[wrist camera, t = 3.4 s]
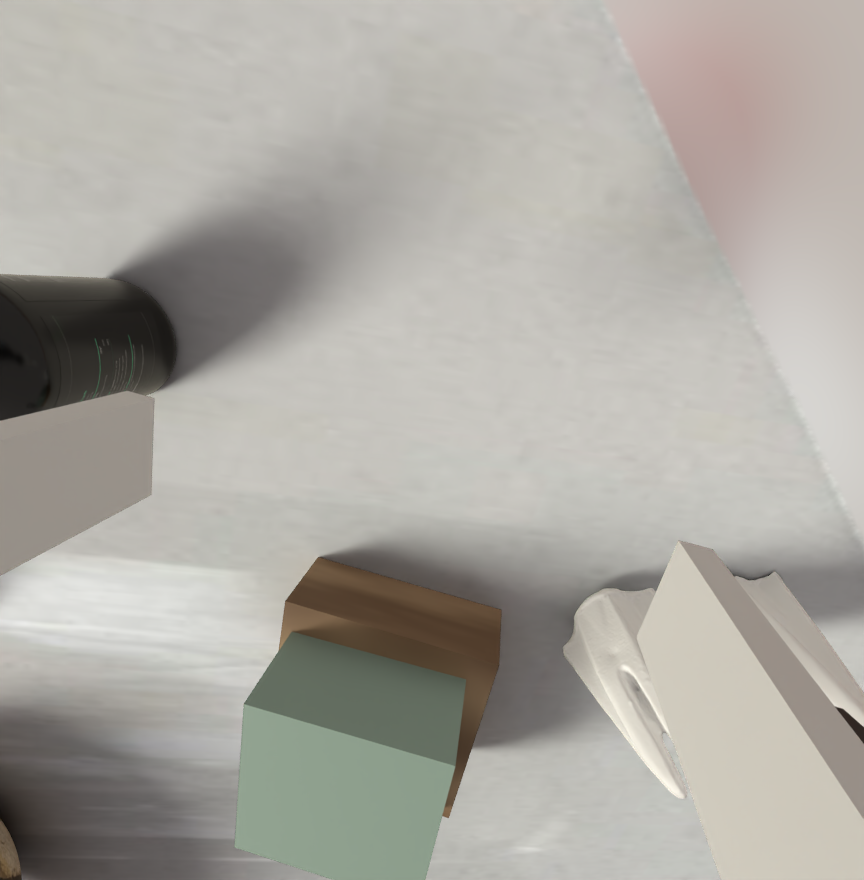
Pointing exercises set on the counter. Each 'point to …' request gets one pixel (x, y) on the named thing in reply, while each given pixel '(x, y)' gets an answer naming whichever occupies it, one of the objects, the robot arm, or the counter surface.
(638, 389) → the counter surface
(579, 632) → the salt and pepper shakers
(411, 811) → the sage top block
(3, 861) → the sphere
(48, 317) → the supplement bottle
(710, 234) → the counter surface
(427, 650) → the walnut base block
